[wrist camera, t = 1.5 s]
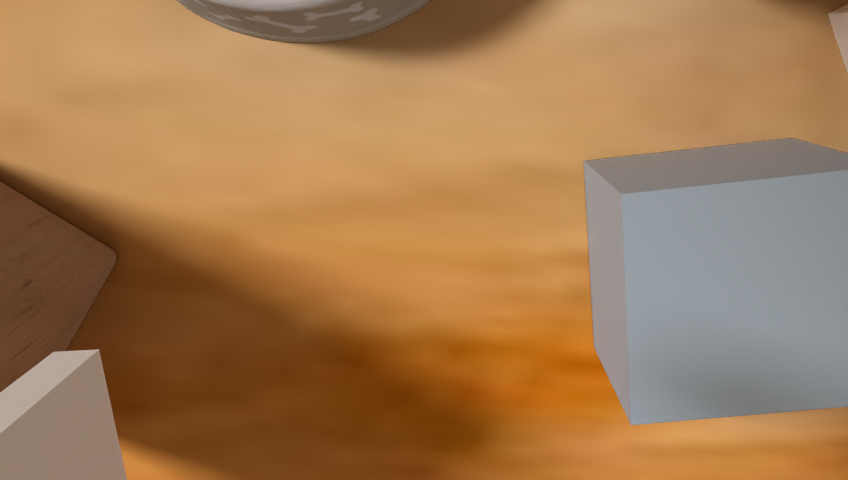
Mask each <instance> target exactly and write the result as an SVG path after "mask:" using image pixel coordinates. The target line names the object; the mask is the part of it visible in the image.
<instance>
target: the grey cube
mask: <svg viewBox="0 0 848 480" xmlns="http://www.w3.org/2000/svg"><path fill="white" fill-rule="evenodd" d="M828 17H829V20H830V23H831V26H832V29H833V32H834V35H835V38H836V41H837V44H838V47H839V50H840V53H841V56H842V59H843V62H844V64H845V67H846V70H847V73H848V4H847V5H845V6H843V7H841V8H839V9H837V10H835V11H832V12H830V13H828Z"/></svg>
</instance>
